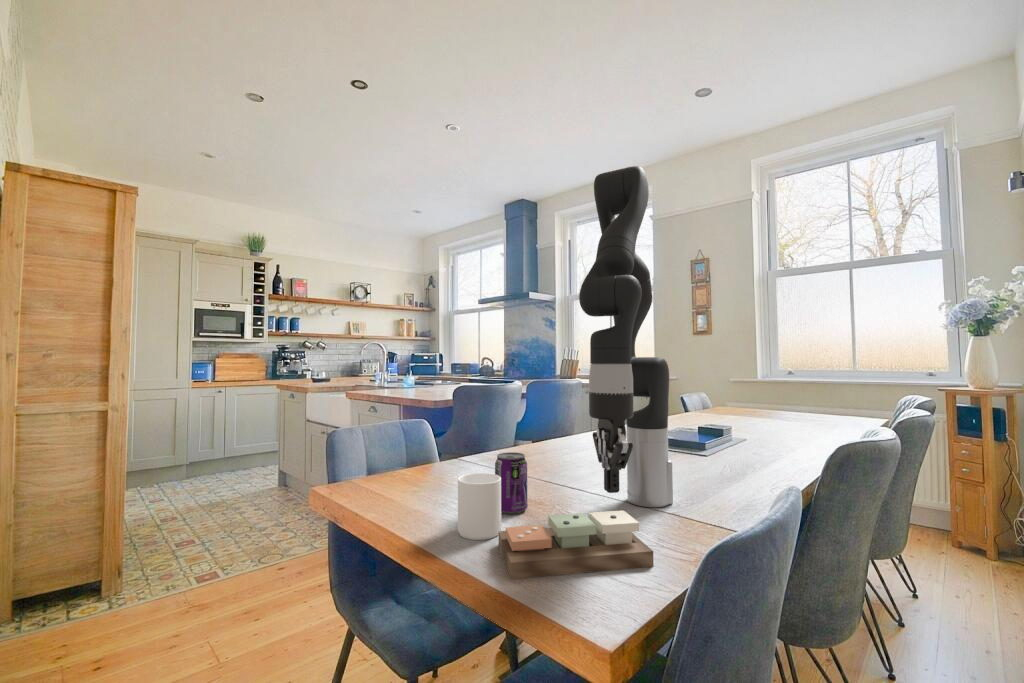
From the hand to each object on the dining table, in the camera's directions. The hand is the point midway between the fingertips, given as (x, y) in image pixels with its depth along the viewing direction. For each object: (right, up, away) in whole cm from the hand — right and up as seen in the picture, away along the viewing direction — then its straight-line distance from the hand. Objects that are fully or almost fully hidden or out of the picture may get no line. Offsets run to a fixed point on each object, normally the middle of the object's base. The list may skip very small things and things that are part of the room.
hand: (611, 491), depth 80 cm
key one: (0, -8, 0) cm, 8 cm away
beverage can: (-17, -11, +22) cm, 30 cm away
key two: (-7, -8, -1) cm, 11 cm away
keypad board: (-7, -10, -2) cm, 13 cm away
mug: (-23, -11, +11) cm, 28 cm away
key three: (-14, -10, -3) cm, 18 cm away
